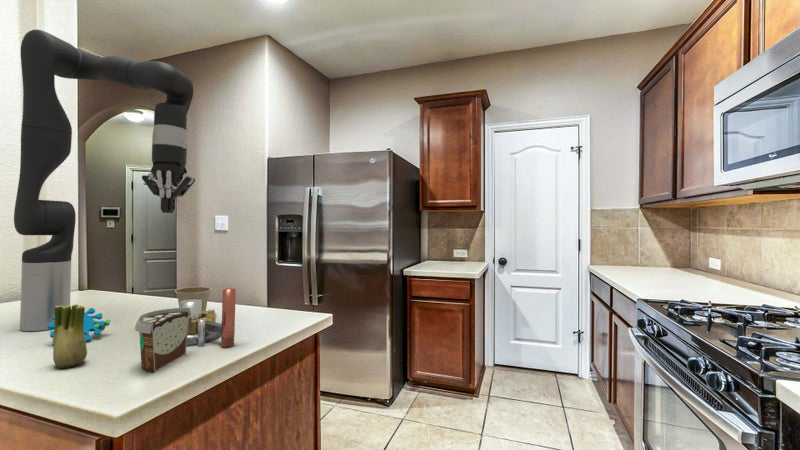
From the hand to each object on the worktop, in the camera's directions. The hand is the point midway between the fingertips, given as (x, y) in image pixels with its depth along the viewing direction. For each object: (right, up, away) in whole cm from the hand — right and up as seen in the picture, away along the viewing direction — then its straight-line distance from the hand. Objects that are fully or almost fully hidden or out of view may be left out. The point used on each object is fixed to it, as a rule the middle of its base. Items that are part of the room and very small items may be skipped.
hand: (167, 212), depth 91 cm
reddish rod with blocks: (+12, -31, -5) cm, 34 cm away
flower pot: (-2, -31, +13) cm, 34 cm away
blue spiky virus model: (-16, -31, -7) cm, 36 cm away
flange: (+7, -31, -3) cm, 32 cm away
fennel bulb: (-6, -31, -21) cm, 38 cm away
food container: (+10, -32, -19) cm, 38 cm away
